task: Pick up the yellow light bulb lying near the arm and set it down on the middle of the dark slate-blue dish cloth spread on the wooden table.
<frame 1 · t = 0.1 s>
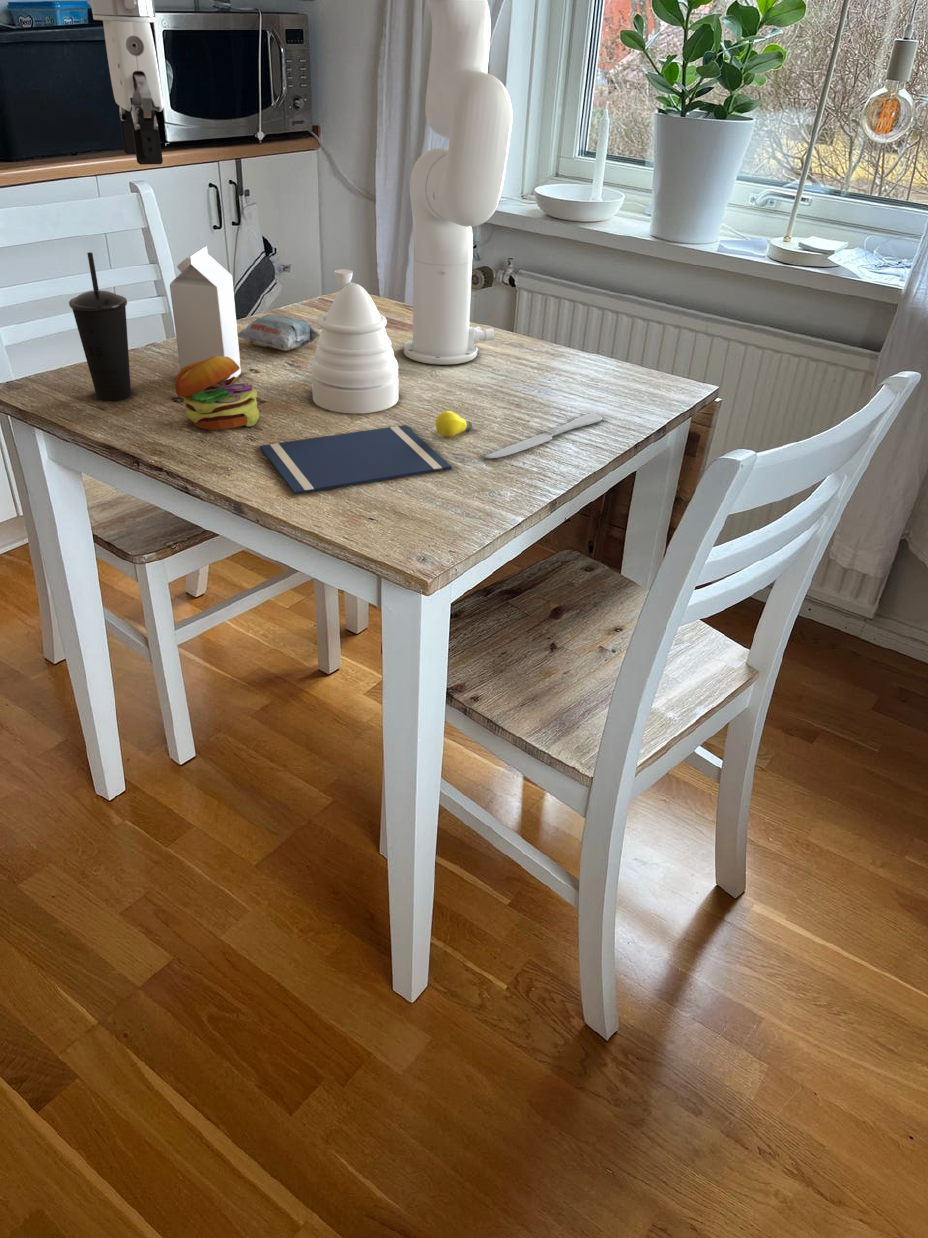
hand: (143, 158, 127), 31 cm above the table, tool pointing down, fingers open, 9 cm apart
honey pot: (355, 399, 142), on the table
light bulb: (454, 435, 132), on the table
cheeseburger: (220, 421, 133), on the table
butter knife: (545, 438, 132), on the table
drinking cup: (114, 396, 139), on the table
dish cloth: (354, 458, 123), on the table
packaged food: (277, 348, 161), on the table
milk carton: (212, 380, 146), on the table
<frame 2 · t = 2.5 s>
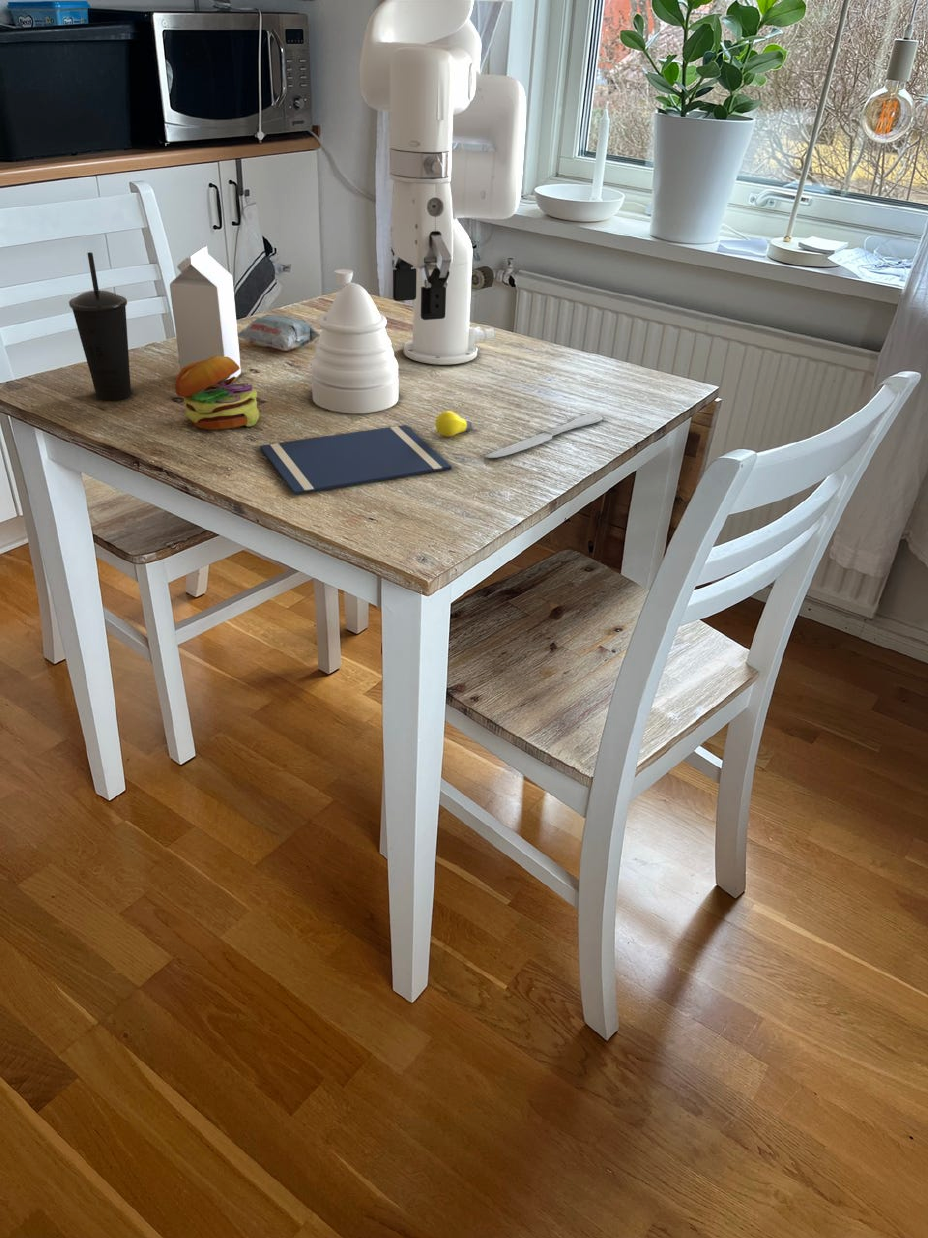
hand: (418, 308, 124), 17 cm above the table, tool pointing down, fingers open, 9 cm apart
nothing on the table moved.
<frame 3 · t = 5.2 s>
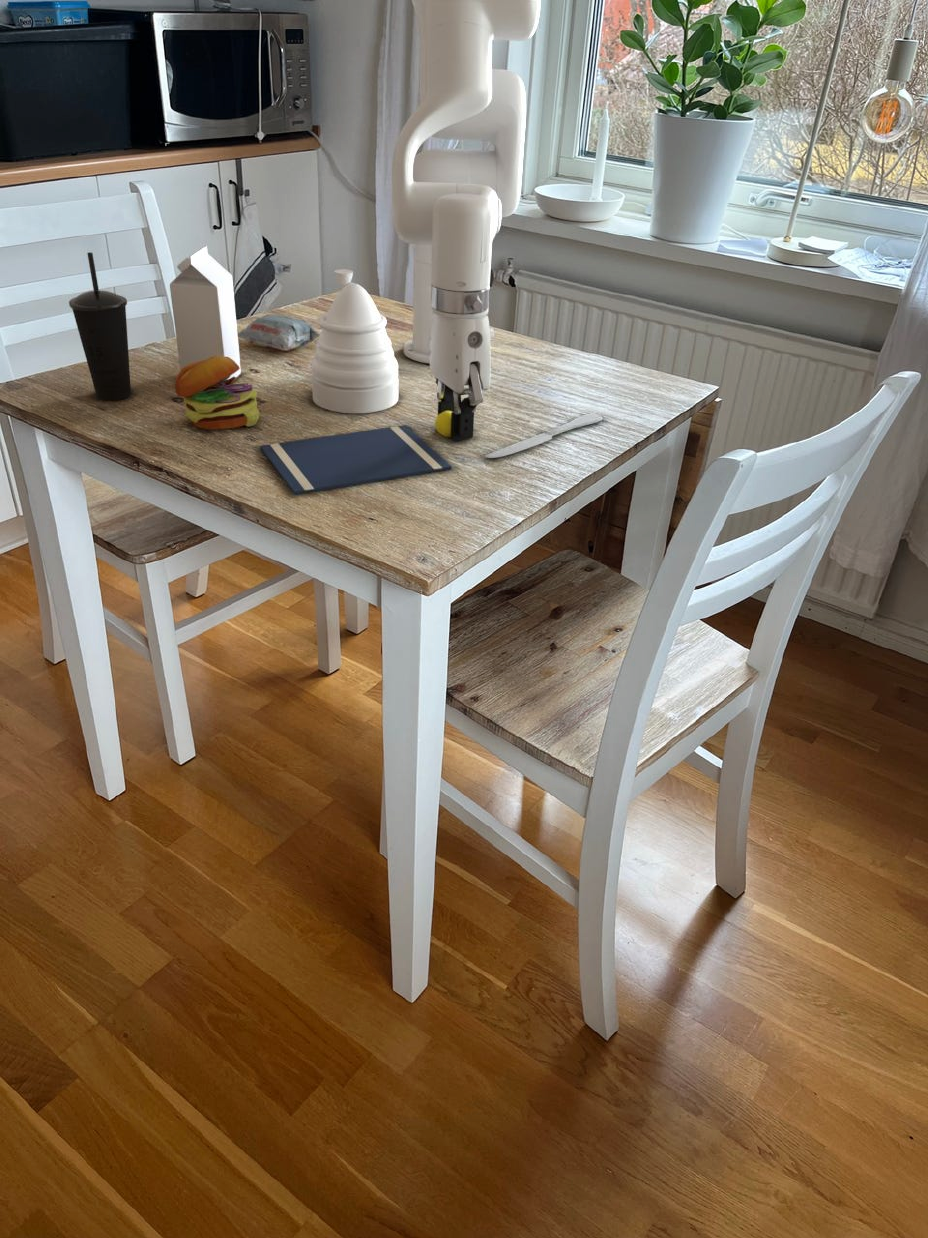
hand: (455, 432, 132), 0 cm above the table, tool pointing down, fingers closed on light bulb, 3 cm apart
light bulb: (454, 435, 132), on the table, touching gripper
everything else where it was.
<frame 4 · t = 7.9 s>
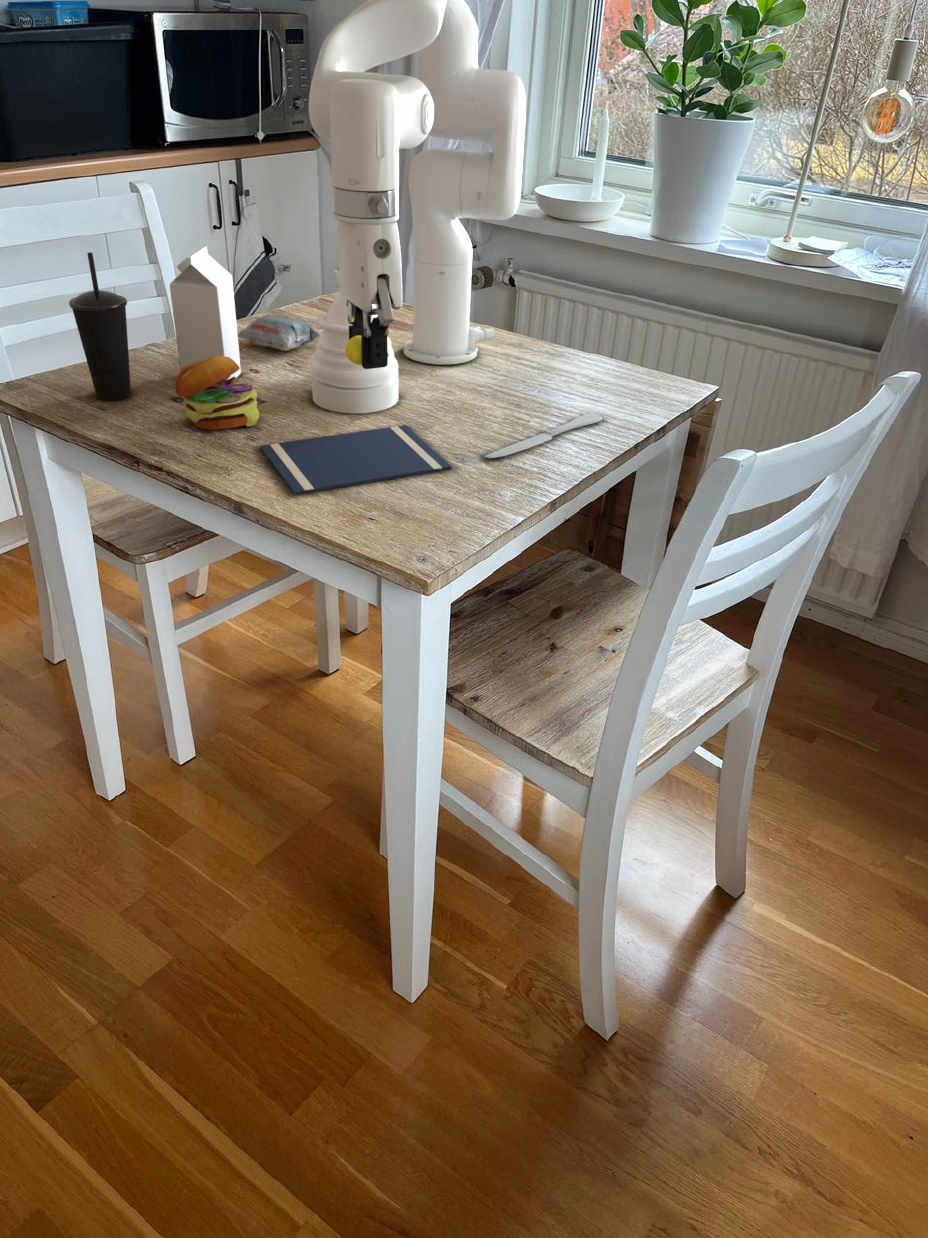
hand: (368, 360, 118), 13 cm above the table, tool pointing down, fingers closed on light bulb, 3 cm apart
light bulb: (368, 363, 118), point 12 cm above the table, touching gripper
everything else where it was.
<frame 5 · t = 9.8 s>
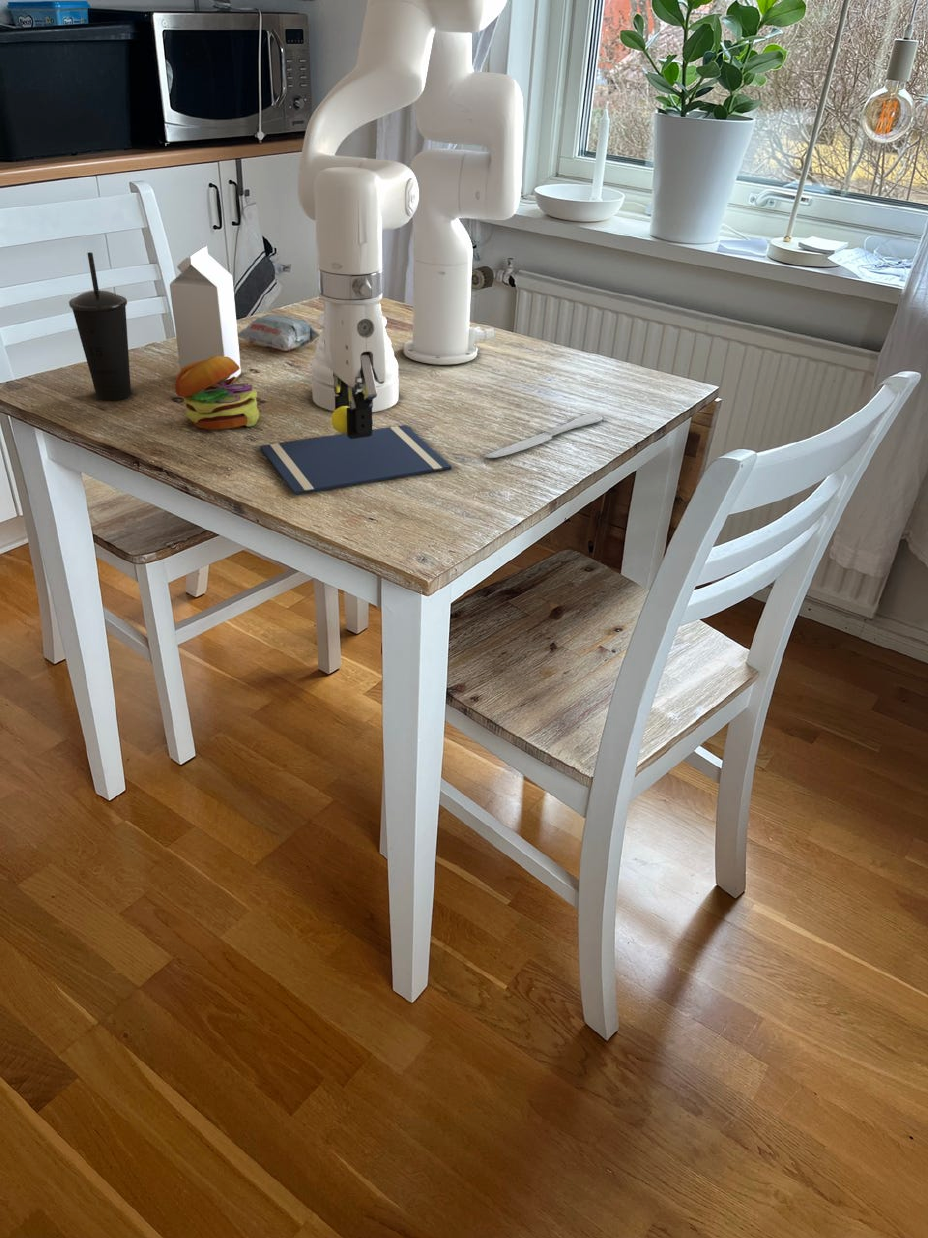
hand: (353, 429, 121), 4 cm above the table, tool pointing down, fingers closed on light bulb, 3 cm apart
light bulb: (353, 432, 122), point 4 cm above the table, touching gripper
everything else where it was.
when the fingers open (1 cm above the table, at t = 11.0 s): light bulb stays where it is, resting on dish cloth.
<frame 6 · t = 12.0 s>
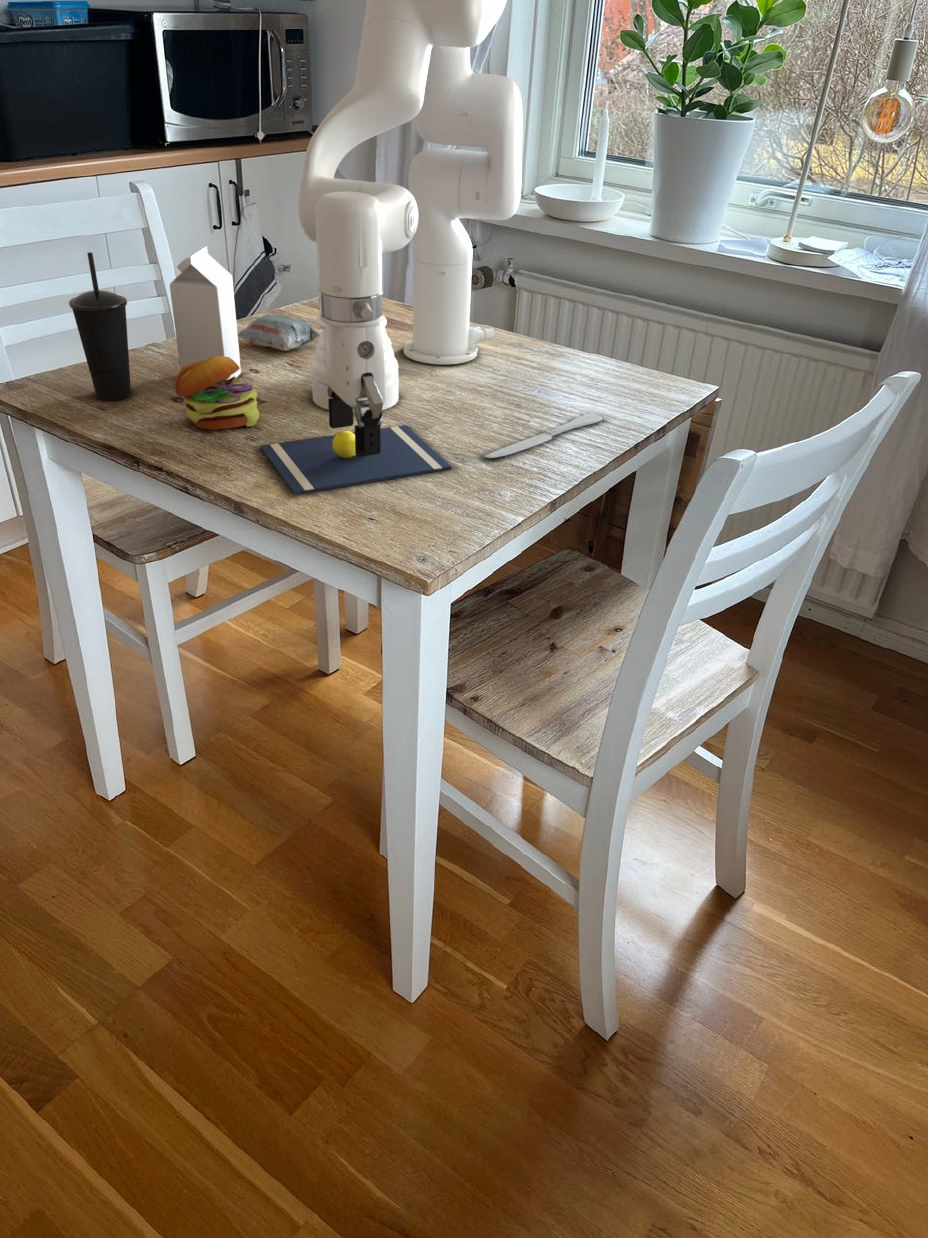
hand: (354, 440, 122), 3 cm above the table, tool pointing down, fingers open, 9 cm apart
light bulb: (354, 456, 123), resting on dish cloth
everything else where it was.
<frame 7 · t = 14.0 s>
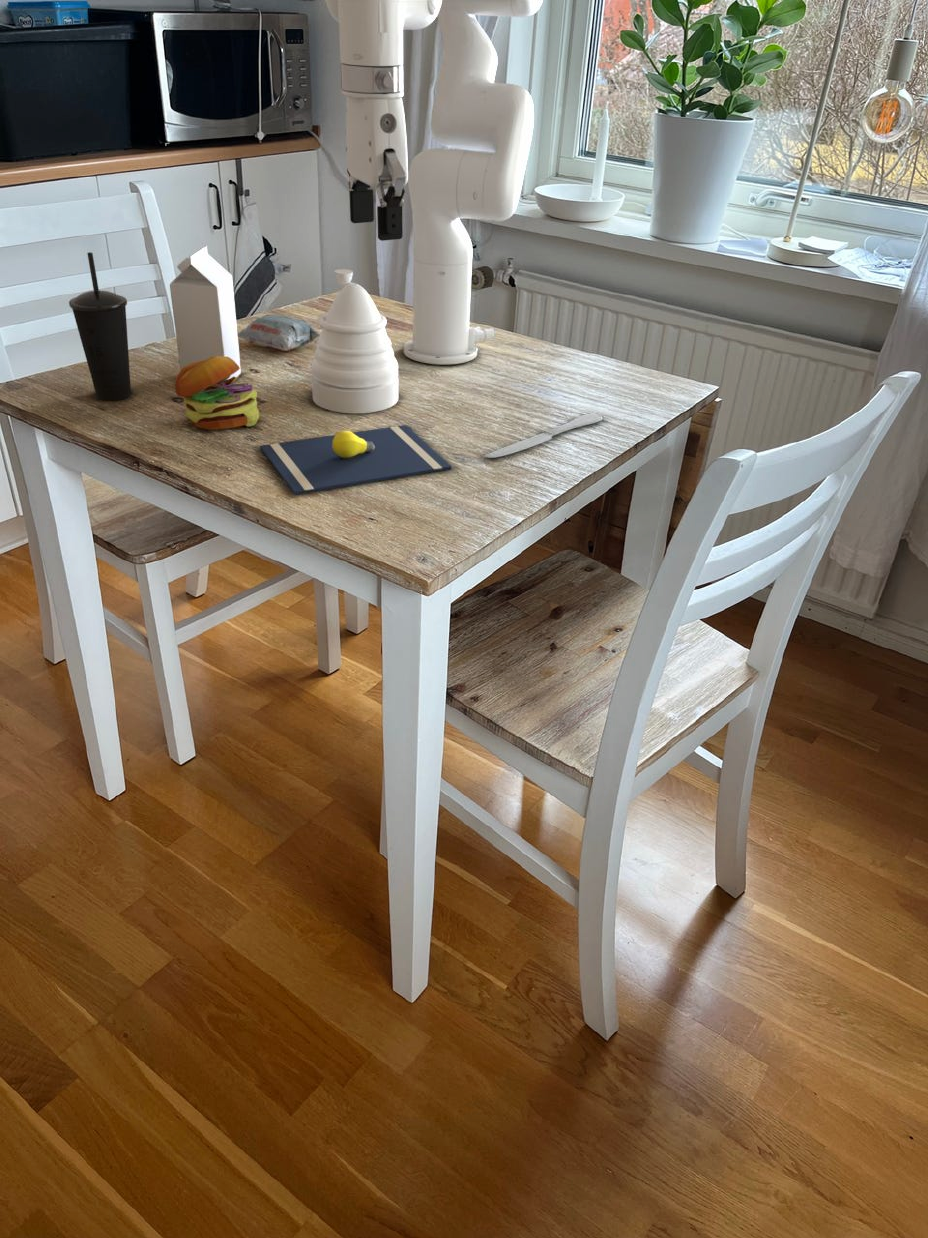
hand: (375, 230, 124), 25 cm above the table, tool pointing down, fingers open, 9 cm apart
nothing on the table moved.
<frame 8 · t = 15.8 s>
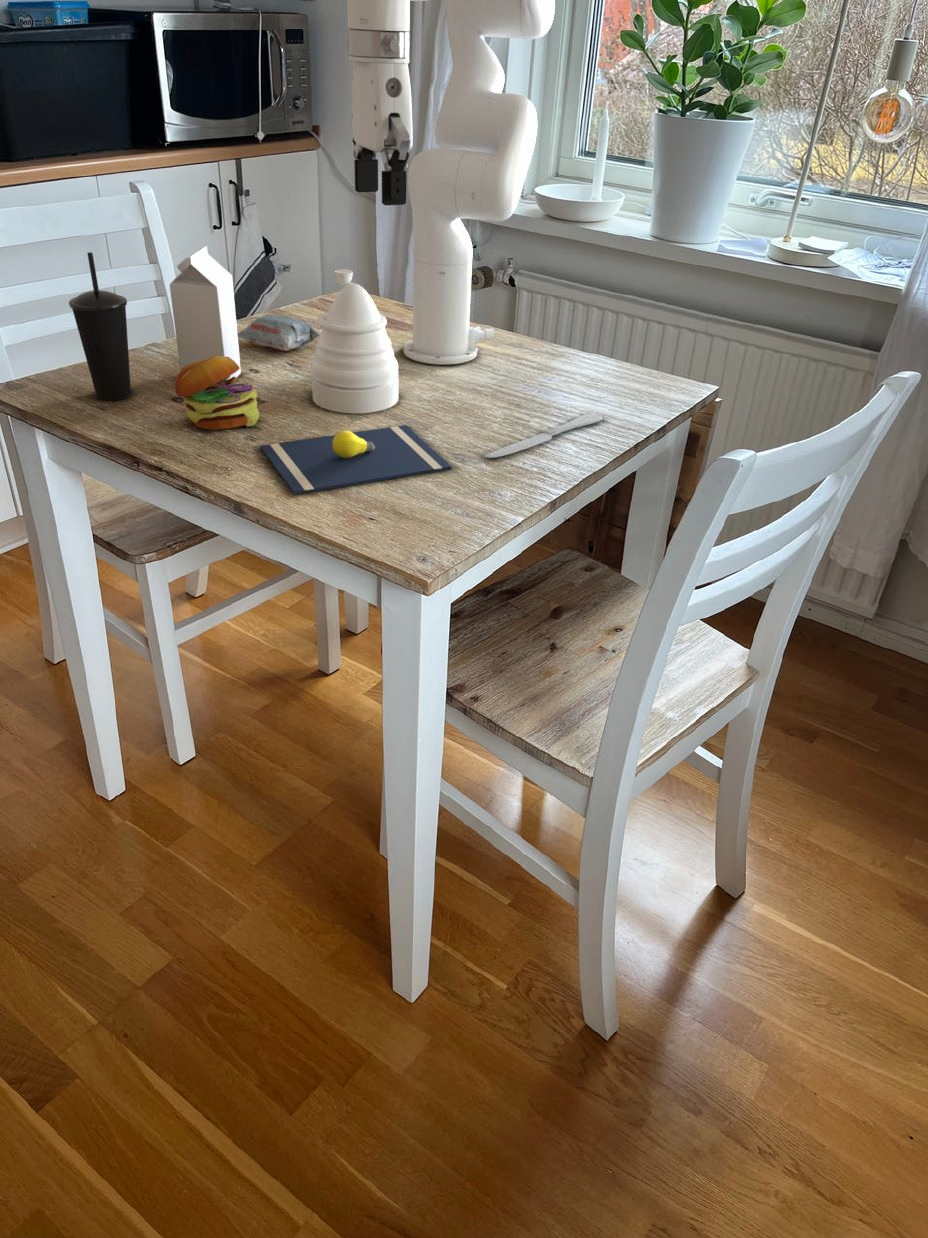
hand: (380, 197, 125), 28 cm above the table, tool pointing down, fingers open, 9 cm apart
nothing on the table moved.
at the end: light bulb inside the target area on the dish cloth (0.2 cm from its centre), point 0.2 cm above the dish cloth's base; light bulb touching dish cloth; the gripper is holding nothing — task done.
